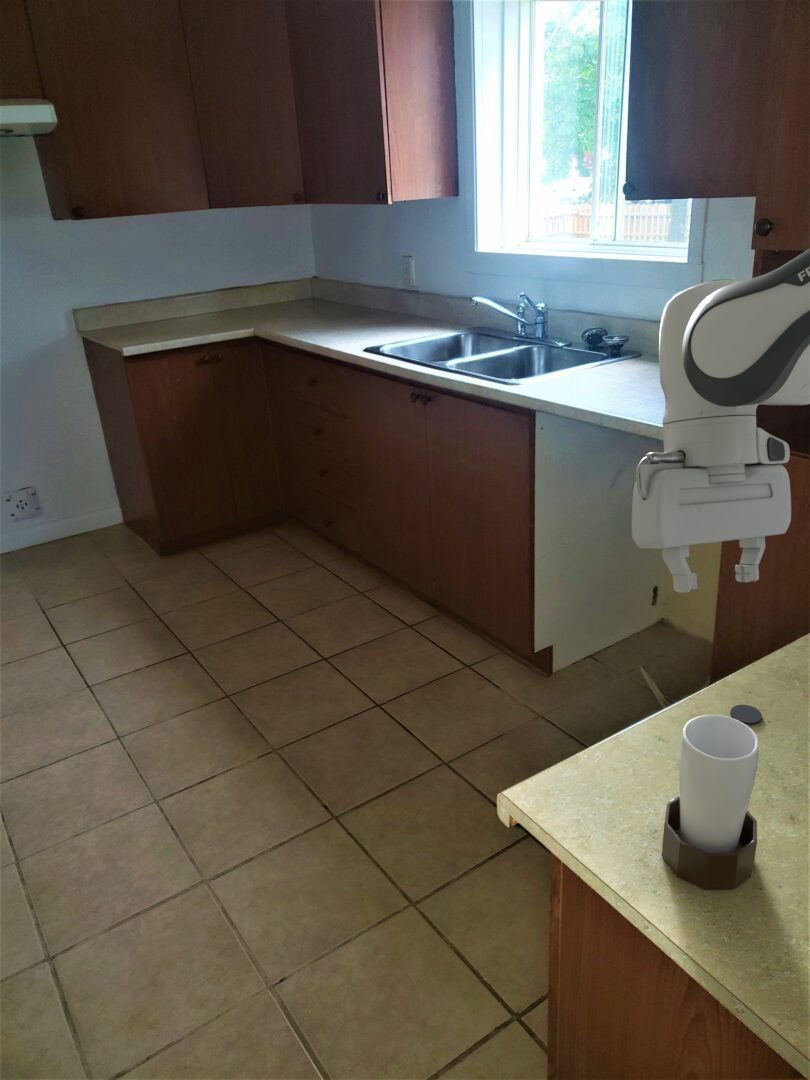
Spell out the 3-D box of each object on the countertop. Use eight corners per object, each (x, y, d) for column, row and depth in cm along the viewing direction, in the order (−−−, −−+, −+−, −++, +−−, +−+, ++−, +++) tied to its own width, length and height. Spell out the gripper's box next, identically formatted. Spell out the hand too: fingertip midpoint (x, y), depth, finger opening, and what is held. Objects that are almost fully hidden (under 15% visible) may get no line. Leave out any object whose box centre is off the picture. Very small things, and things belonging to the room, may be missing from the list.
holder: (752, 832, 84) (757, 799, 82) (751, 900, 77) (757, 865, 75) (666, 815, 87) (669, 782, 85) (658, 879, 80) (661, 845, 78)
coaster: (761, 709, 101) (761, 707, 101) (761, 727, 98) (762, 725, 98) (730, 704, 103) (730, 702, 102) (729, 721, 100) (730, 719, 100)
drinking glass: (758, 861, 80) (776, 741, 74) (710, 894, 78) (725, 771, 71) (703, 820, 86) (715, 704, 79) (656, 848, 83) (666, 731, 76)
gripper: (662, 449, 74) (671, 600, 75) (799, 444, 84) (806, 577, 85) (612, 455, 80) (620, 596, 80) (746, 450, 90) (753, 575, 90)
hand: (717, 586), depth 83 cm, fingers open, 8 cm apart
